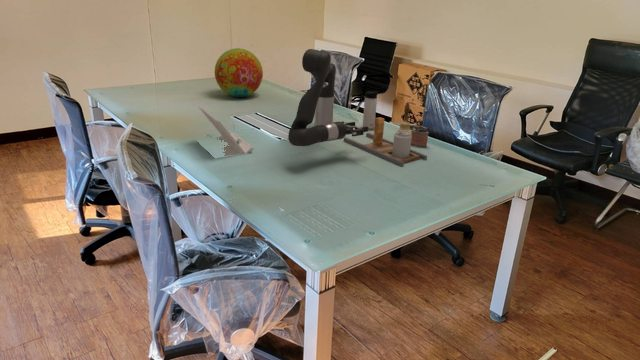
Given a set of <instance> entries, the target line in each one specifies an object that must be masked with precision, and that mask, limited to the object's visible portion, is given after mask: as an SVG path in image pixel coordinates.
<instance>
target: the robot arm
mask: <svg viewBox="0 0 640 360" xmlns="http://www.w3.org/2000/svg"><path fill="white" fill-rule="evenodd" d="M331 57H332V56H331V54H330V52H327V51H324V50H318V49H315V48H309V49H306V50H305V51H304V53H303V56H302V59H301V61H302V62H301V65H302V69H303V71H304V72H308V73H309V74H310V75H312V76H313V78H314V80H315V82H314V83H313V85H312V86H311V87H310V88H309V89H308V90H307V91H306V92H305V93H303V95H302V97H301V98H300V100H299V103H298V107H297V111H296V115H295V118H294V120H293V122H292V124H291V126H290V129H289V131H288V133H287V134H288V135H287V137H288V142H289V143H290V145H292V146H294V147H309V146H312V145H315V144H319V143H324V142H332V141H337V140H342V139H343V140H344V138H345V137H346V136H349V135H351V137H357V136H363V135H364V133H368V131H369V130H368V127H367V126H366V127H363V126H362V127H358V126H357V125H356V122H355V121H349V122H348V121H346V122H345V121H343V120H342V121H333V120H334V104H335V101H334V100H335V85H336V84H335V82H336V72H337V67H336V65H335V64H334V63H331V59H332V58H331ZM325 83H328V84H327V85H326V86H324V85H325ZM313 121H314V123H313ZM312 123H313V126H312V127H308V126H309V125H311V124H312Z"/></svg>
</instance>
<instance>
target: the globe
mask: <svg viewBox="0 0 640 360" xmlns="http://www.w3.org/2000/svg"><path fill="white" fill-rule="evenodd" d="M263 77H264V72H263V66H262V63H261V61H260V60H259V58H258V57H257V56H256V55H255V54H254V53H253V52H251V51H250V50H247V49H245V48H240V47H239V48H230V49H228V50H227V51H224V52H223V53H222V54H221V55H219V58H218V59H217V60H216V62H215V66H214V78H215V81H216V84H217V85H218V87H219V88H220V89H221V91H223V92H224V93H226V95H229V96H232V97H234V98H235V97H236V98H244V97H248V96H250V95H252V94H253V93H255V92H256V91H257V90H258V89H259V87H260V86H261V85H262V81H263Z"/></svg>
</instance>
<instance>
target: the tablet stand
mask: <svg viewBox="0 0 640 360" xmlns="http://www.w3.org/2000/svg"><path fill="white" fill-rule="evenodd" d="M198 109H199V110H200V111H201V112H202V113H203V114H204V116H205V117H206V118H207V119H208V121H209V122H210V123H211V124H212V125H213V127H214V128H215V130H216V131H217V132H219V134H220V135H221V136H219V137H216V138H217V140H218V138H219V140H221V142H222V140H224V142H227V143H228V145H229V146H228V145H227V146H226V147H224V151H225V150H226V151H225V152H223V153H225V155H224V156H230V155H237V154H243V155H245V154H244V153H248V154H249V153H250V152H252V151H253V149H254V147H253V146H252V145H251V144H249V143H248V142H247V141H246V140H244V139H243V138H242V137H240V136H239V135H238V134H236V133H235V132H234V131H230V132H229V131H228V130H227V129H226V127H225V126H224V124H223V123H221V121H220V120H219V119H218V118H217V117H215V116H214V115H213V114H211V112H209V111H207V110H206V109H205V108H203V106H201V105H199V106H198ZM238 142H239V143H238ZM224 146H225V145H224ZM222 149H223V148H222ZM237 156H238V155H237ZM230 157H231V156H230Z"/></svg>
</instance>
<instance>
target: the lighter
mask: <svg viewBox="0 0 640 360" xmlns="http://www.w3.org/2000/svg"><path fill="white" fill-rule="evenodd" d="M427 129H428V128H427V127H426V126H423V125H420V126H419V125H413V127H412V129H411V132H412V134H411V136H412V139H411V147H415V148H422V149H423V148H424V149H425V148H427V147H428V146H427V144H428V138H429V133H430V132H429V131H428V130H427Z"/></svg>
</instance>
